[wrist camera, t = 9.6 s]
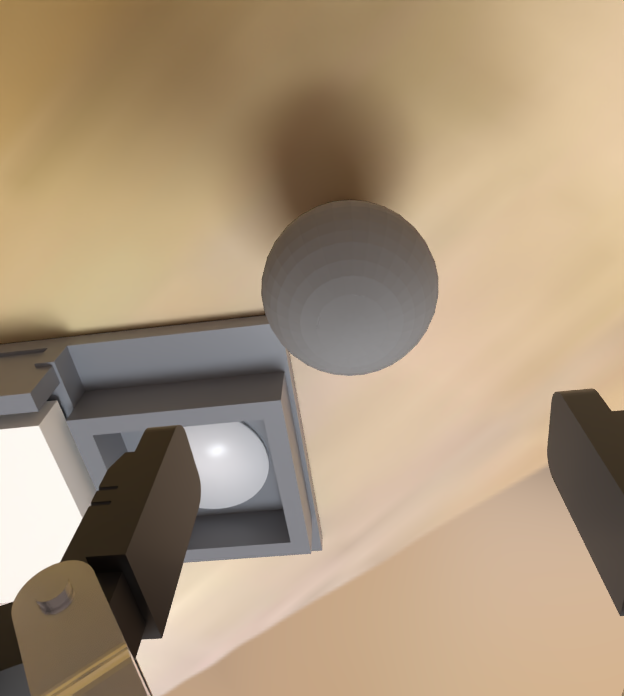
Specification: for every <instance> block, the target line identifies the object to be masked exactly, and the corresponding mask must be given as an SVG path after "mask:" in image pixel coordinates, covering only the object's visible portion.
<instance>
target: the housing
mask: <svg viewBox="0 0 624 696" xmlns="http://www.w3.org/2000/svg"><path fill="white" fill-rule="evenodd" d="M55 400H57V401H58V403H59V405H60V408H61V410H62V412H63V414H64V417H65V419H66V422H67V425H68V427H69V429H70V432H71V434H72V436H73V438H74V441H75V443H76V445H77V447H78V450H79V452H80V454H81V456H82V459H83V461H84V463H85V466H86V468H87V470H88V472H89V475H90V477H91V479H92V481H93V484H94V486H95V488H96V490H97V491H99V485H100V483H101V482H102V480H103V478H104V476H105V474H106V472H107V470H108V468H110V467H111V466H112V465H113V464H114V463H115V462H116V461H117V460H118V459H119V458H120V457H121V456H122V455H123V454H124V453H125V452H135V450H136V448H137V446H138V444H139V442H140V439H141V437H142V435H143V433H144V431H145V430H146V429H147V428H151V427H162V426H173V425H181V426H183V428H184V429H185V432H186V435H187V438H188V441H189V444H190V448H191V451H192V454H193V457H194V461H195V464H196V467H197V470H198V473H199V477H200V483H201V500H200V505H199V509H198V512H197V516H196V519H195V523H194V527H193V530H192V534H191V537H190V541H189V544H188V548H187V551H186V555H185V558H184V562H183V563H185V562H199V561H213V560H227V559H241V558H256V557H270V556H284V555H298V554H311V551H320V550H322V533H321V527H320V522H319V516H318V510H317V505H316V499H315V494H314V488H313V483H312V477H311V471H310V466H309V460H308V455H307V449H306V444H305V438H304V432H303V427H302V421H301V416H300V410H299V405H298V399H297V394H296V388H295V382H294V377H293V371H292V366H291V360H290V355H289V351H288V350H287V349H286V348H285V347H284V346H283V345H282V344H281V342H280V341H279V339H278V338H277V336H276V335H275V333H274V332H273V330H272V329H271V327H270V324H269V322H268V319H267V317H266V315H263V316H253V317H244V318H235V319H226V320H217V321H208V322H199V323H190V324H181V325H172V326H163V327H154V328H145V329H135V330H126V331H117V332H108V333H99V334H90V335H81V336H72V337H63V338H54V339H45V340H36V341H26V342H17V343H8V344H0V415H8V414H18V413H28V412H38V411H39V410H40V409H41V408H42V406H43V405H44V404H45V402H46V401H55Z"/></svg>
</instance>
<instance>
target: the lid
mask: <svg viewBox="0 0 624 696" xmlns="http://www.w3.org/2000/svg"><path fill="white" fill-rule="evenodd" d="M96 491H97V490H96V488H95V486H94V484H93V481H92V479H91V477H90V475H89V472H88V470H87V468H86V466H85V463H84V461H83V459H82V456H81V454H80V452H79V450H78V447H77V445H76V443H75V441H74V438H73V436H72V434H71V432H70V429H69V427H68V425H67V422H66V419H65V417H64V414H63V412H62V410H61V408H60V405H59V403H58V401H57V400H55V401H46V402H45V404H44V405H43V406H42V408H41V409H40V410H39V411H38V412H28V413H18V414H8V415H0V603H6V602H13V601H14V599H15V598H16V596H17V594H18V592H19V591H20V590H21V588H22V587H23V586H24V585H25V584H26V582H28V581H29V580H30V579H31V578H32V577H33V576H34V575H36V574H37V573H38V572H40V571H42V570H43V569H45V568H47V567H49V566H51V565H53V564H56V563H59V562H60V561H61V559H62V557H63V555H64V553H65V551H66V549H67V548H68V546H69V544H70V542H71V540H72V538H73V536H74V534H75V532H76V530H77V528H78V526H79V524H80V522H81V520H82V518H83V516H84V515H85V513H86V511H87V509H88V507H89V506H91V501H92V499H93V497H94V495H95V493H96Z"/></svg>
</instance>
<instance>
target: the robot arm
mask: <svg viewBox="0 0 624 696" xmlns="http://www.w3.org/2000/svg"><path fill="white" fill-rule="evenodd" d="M547 456H548V464H549V468H550V472H551V475H552V478H553V480H554V482H555V484H556V486H557V488H558V490H559V492H560V494H561V496H562V498H563V500H564V503H565V505H566V507H567V509H568V511H569V512H570V515H571V517H572V519H573V521H574V523H575V525H576V527H577V529H578V531H579V533H580V535H581V537H582V539H583V541H584V543H585V545H586V547H587V549H588V551H589V553H590V555H591V557H592V560H593V562H594V564H595V566H596V568H597V570H598V572H599V574H600V576H601V578H602V580H603V582H604V584H605V586H606V588H607V590H608V592H609V594H610V596H611V598H612V600H613V602H614V604H615V606H616V608H617V610H618V612H619V614H620V616H624V410H622V411H611V410H610V408H609V407H608V406H607V404H606V403H605V402H604V400H603V399H602V397H601V396H600V395H599V393H598V392H597V391H596V390H595V389H583V390H571V391H560V392H555V393H554V394H553V397H552V403H551V414H550V425H549V436H548V447H547ZM200 500H201V483H200V477H199V473H198V470H197V467H196V464H195V461H194V457H193V454H192V451H191V448H190V444H189V441H188V438H187V435H186V432H185V429H184V428H183V426H181V425H173V426H162V427H151V428H147V429H146V430H145V431H144V433H143V435H142V437H141V439H140V442H139V444H138V446H137V448H136V450H135V452H125V453H124V454H123V455H122V456H121V457H120V458H119V459H118V460H117V461H116V462H115V463H114V464H113V465H112V466H111V467H110V468H108V470H107V472H106V474H105V476H104V478H103V480H102V482H101V483H100V485H99V491H96V493H95V495H94V497H93V499H92V501H91V506H89V507H88V509H87V511H86V513H85V515H84V516H83V518H82V520H81V522H80V524H79V526H78V528H77V530H76V532H75V534H74V536H73V538H72V540H71V542H70V544H69V546H68V548H67V549H66V551H65V553H64V555H63V557H62V559H61V561H60V562H59V563H56V564H53V565H51V566H49V567H47V568H45V569H43V570H42V571H40V572H38V573H37V574H36V575H34V576H33V577H32V578H31V579H30V580H29V581H28V582H26V584H25V585H24V586H23V587H22V588H21V590H20V591H19V592H18V594H17V596H16V598H15V599H14V601H13V602H11V603H8V604H5V605H2V606H0V696H153V694H152V692H151V690H150V688H149V685H148V683H147V681H146V679H145V677H144V674H143V672H142V670H141V668H140V665H139V663H138V661H137V659H136V655H137V652H138V649H139V646H140V642H141V639H158V638H162V636H163V633H164V629H165V626H166V622H167V619H168V615H169V611H170V608H171V604H172V601H173V597H174V594H175V590H176V587H177V583H178V580H179V576H180V573H181V569H182V565H183V562H184V558H185V555H186V551H187V548H188V544H189V541H190V537H191V534H192V530H193V527H194V523H195V519H196V516H197V512H198V509H199V505H200ZM622 696H624V690H623V693H622Z"/></svg>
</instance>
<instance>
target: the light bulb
mask: <svg viewBox="0 0 624 696" xmlns="http://www.w3.org/2000/svg"><path fill="white" fill-rule="evenodd" d="M261 295H262V301H263V306H264V311H265V314H266V317H267V319H268V322H269V324H270V327H271V329H272V330H273V332H274V333H275V335H276V336H277V338H278V339H279V341H280V342H281V344H282V345H283V346H284V347H285V348H286V349H287V350H288V351H289V352H290V353H291V354H292V355H293V356H295V357H296V358H298V359H299V360H301V361H302V362H304V363H305V364H307V365H308V366H311V367H313V368H315V369H317V370H320V371H323V372H327V373H331V374H335V375H347V376H352V375H364V374H368V373H372V372H376V371H379V370H381V369H384V368H386V367H388V366H390V365H392V364H394V363H395V362H397V361H398V360H400V359H401V358H403V357H404V356H405V355H406V354H407V353H408V352H409V351H410V350H411V349H413V348H414V347H415V346H416V345H417V344H418V342H419V341H420V339H421V338H422V337H423V335H424V334H425V332H426V331H427V329H428V326H429V324H430V322H431V320H432V317H433V315H434V313H435V308H436V303H437V299H438V274H437V270H436V265H435V261H434V259H433V257H432V255H431V252H430V250H429V248H428V246H427V244H426V242H425V240H424V239H423V238H422V237H421V235H420V234H419V233H418V231H417V230H416V229H415V228H414V227H413V226H412V225H411V224H410V223H409V222H408V221H406V220H405V219H404V218H403V217H402V216H400V215H399V214H397V213H395V212H394V211H392V210H390V209H388V208H386V207H384V206H381V205H377V204H374V203H371V202H367V201H357V200H343V201H334V202H330V203H327V204H324V205H320V206H317V207H315V208H313V209H311V210H310V211H308V212H306V213H304V214H302V215H300V216H299V217H298V218H297V219H296V220H294V221H293V222H292V223H291V224H290V225H288V226H287V227H286V229H285V230H284V231H283V233H282V234H281V235H280V236H279V238H278V239H277V240H276V242H275V243H274V245H273V247H272V249H271V251H270V253H269V255H268V257H267V261H266V265H265V268H264V272H263V276H262V291H261Z"/></svg>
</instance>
